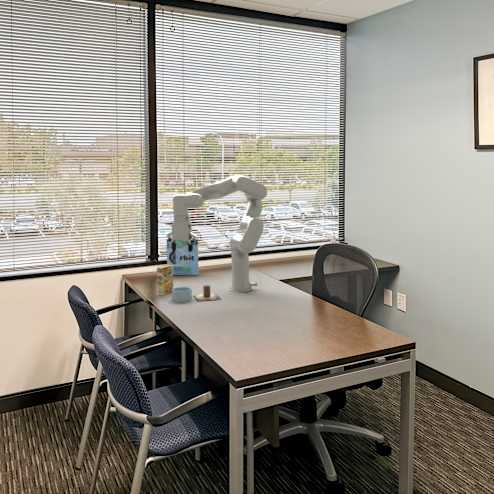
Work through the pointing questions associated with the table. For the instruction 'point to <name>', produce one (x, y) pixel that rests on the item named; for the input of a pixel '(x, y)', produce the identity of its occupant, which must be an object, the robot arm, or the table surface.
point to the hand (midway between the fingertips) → (182, 251)
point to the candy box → (165, 279)
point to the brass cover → (206, 294)
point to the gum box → (183, 258)
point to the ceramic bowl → (181, 294)
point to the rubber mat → (203, 301)
